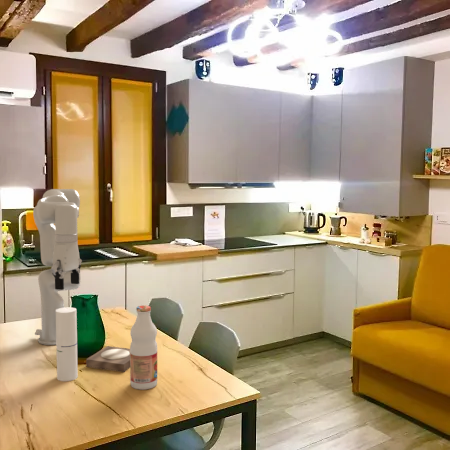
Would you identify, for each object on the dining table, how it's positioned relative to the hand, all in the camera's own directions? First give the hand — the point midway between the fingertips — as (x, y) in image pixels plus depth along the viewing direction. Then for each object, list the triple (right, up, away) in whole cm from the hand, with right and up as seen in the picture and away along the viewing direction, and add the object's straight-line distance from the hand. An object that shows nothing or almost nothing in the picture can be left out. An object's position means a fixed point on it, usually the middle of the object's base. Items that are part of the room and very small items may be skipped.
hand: (67, 286), depth 188 cm
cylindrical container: (-1, -34, +3) cm, 34 cm away
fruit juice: (+28, -35, -2) cm, 44 cm away
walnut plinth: (+13, -32, +19) cm, 39 cm away
